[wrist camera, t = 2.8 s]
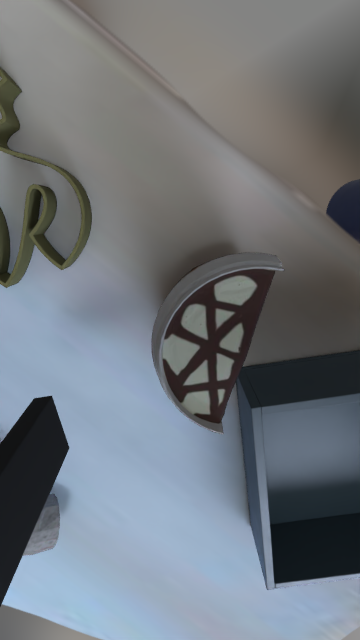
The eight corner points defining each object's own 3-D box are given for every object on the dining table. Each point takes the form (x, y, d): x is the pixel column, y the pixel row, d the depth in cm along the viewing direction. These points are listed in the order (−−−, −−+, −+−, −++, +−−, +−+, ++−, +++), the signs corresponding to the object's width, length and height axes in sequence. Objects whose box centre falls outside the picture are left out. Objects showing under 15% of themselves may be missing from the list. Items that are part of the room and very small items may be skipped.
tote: (416, 341, 29) (482, 375, 23) (398, 507, 36) (445, 567, 30) (234, 368, 30) (250, 408, 24) (250, 526, 37) (267, 590, 30)
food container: (176, 224, 25) (178, 230, 16) (246, 244, 26) (288, 260, 17) (143, 355, 29) (130, 422, 20) (205, 369, 30) (221, 441, 20)
